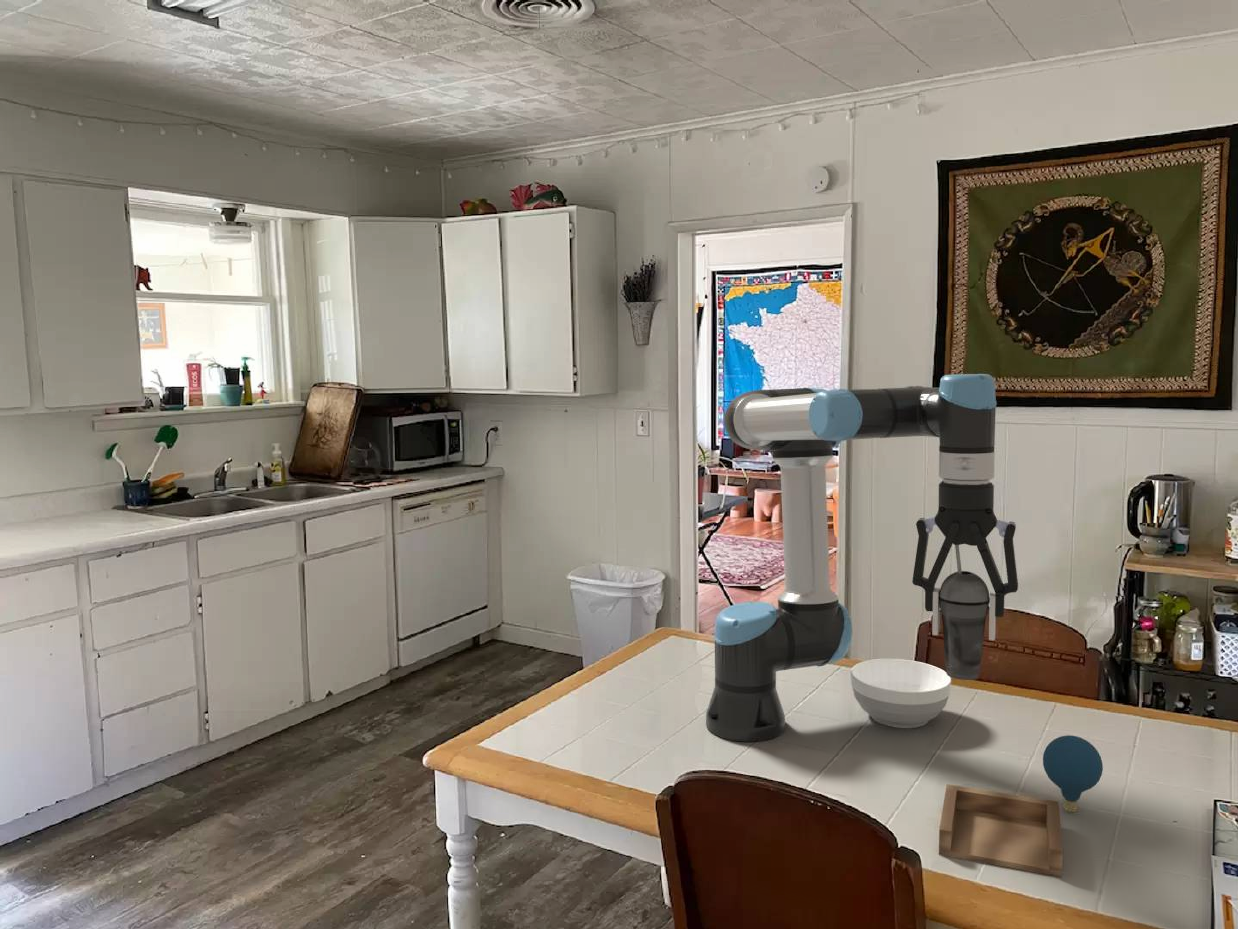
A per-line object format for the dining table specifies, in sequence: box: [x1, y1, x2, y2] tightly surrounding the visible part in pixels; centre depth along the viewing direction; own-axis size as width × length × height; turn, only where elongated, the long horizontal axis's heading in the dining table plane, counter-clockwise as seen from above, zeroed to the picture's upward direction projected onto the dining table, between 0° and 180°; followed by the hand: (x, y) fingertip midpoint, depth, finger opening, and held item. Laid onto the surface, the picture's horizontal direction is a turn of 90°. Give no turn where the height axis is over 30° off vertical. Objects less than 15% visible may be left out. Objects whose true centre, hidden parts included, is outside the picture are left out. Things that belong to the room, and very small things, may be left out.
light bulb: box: [1042, 735, 1104, 813], centre depth 145 cm, size 8×8×12 cm
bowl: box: [850, 658, 952, 729], centre depth 183 cm, size 19×19×9 cm
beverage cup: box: [938, 545, 990, 681], centre depth 138 cm, size 7×7×20 cm
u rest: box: [938, 783, 1064, 878], centre depth 138 cm, size 16×15×4 cm
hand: (963, 635), depth 138 cm, fingers closed on beverage cup, 7 cm apart
